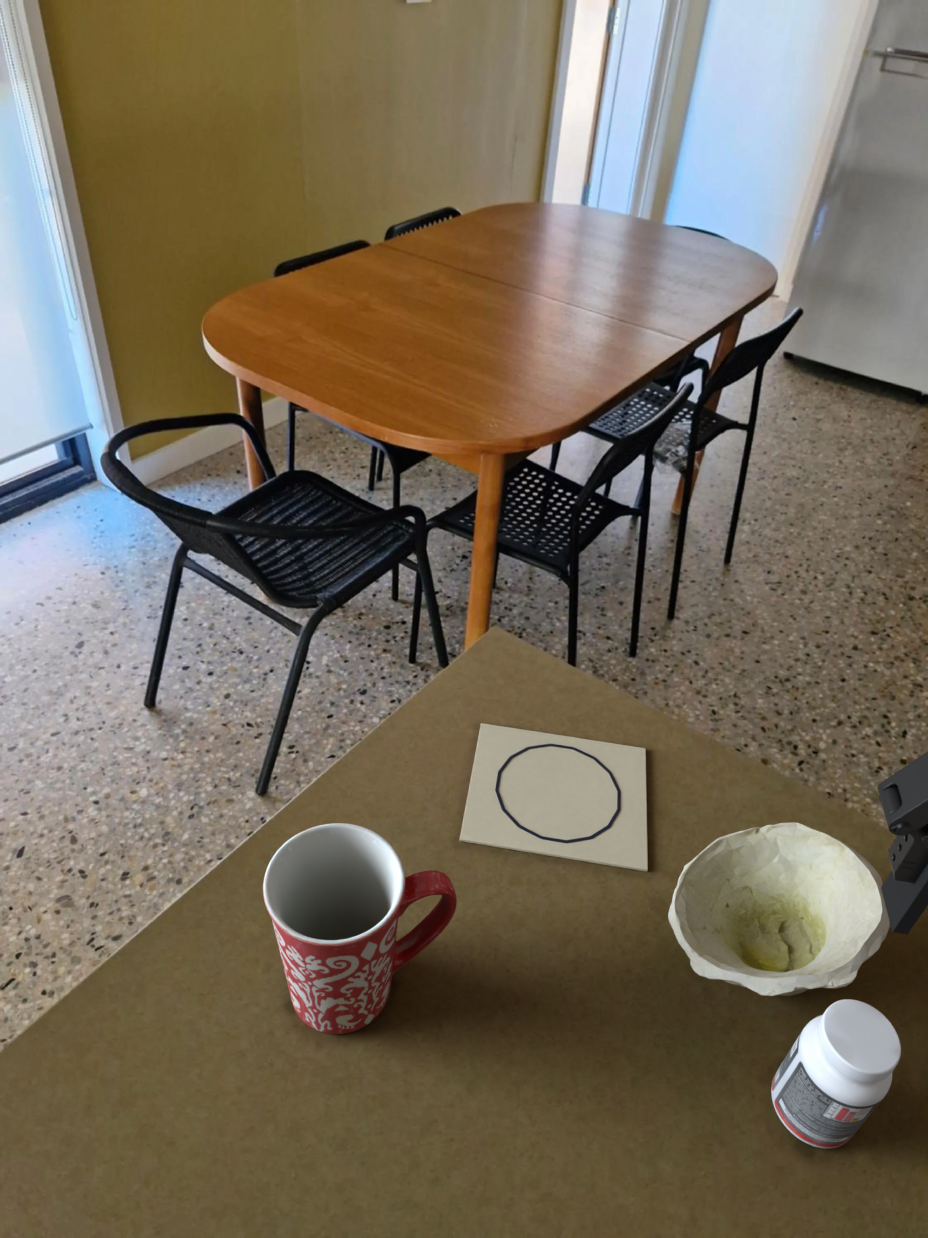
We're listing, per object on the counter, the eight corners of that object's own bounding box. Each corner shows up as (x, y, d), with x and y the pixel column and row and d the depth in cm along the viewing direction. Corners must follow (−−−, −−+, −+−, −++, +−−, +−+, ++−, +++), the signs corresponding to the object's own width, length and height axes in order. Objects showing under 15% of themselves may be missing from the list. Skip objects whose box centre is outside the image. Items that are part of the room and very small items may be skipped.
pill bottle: (866, 1153, 59) (926, 1086, 52) (782, 1151, 58) (832, 1083, 52) (838, 1064, 63) (889, 993, 57) (759, 1062, 63) (802, 990, 57)
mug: (278, 1059, 61) (263, 953, 52) (274, 940, 67) (261, 829, 59) (459, 1031, 63) (473, 926, 55) (438, 919, 70) (448, 809, 61)
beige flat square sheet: (647, 872, 75) (647, 869, 74) (459, 841, 76) (459, 838, 76) (645, 750, 85) (645, 747, 85) (480, 725, 87) (481, 722, 86)
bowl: (673, 851, 76) (701, 774, 70) (842, 901, 74) (886, 825, 67) (647, 1010, 65) (677, 935, 59) (844, 1077, 62) (898, 1005, 56)
